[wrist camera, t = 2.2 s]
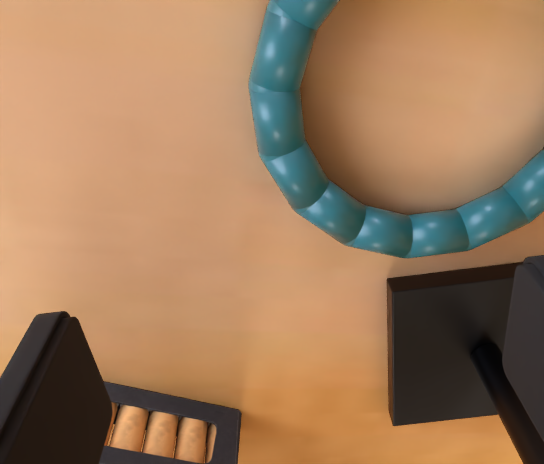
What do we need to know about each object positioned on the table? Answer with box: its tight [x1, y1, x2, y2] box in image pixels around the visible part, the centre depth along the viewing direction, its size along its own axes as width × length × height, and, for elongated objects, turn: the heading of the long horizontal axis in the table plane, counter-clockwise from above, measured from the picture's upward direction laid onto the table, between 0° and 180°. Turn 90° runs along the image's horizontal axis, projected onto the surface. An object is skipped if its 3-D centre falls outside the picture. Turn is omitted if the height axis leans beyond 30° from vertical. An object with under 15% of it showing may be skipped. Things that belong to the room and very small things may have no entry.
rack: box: [387, 262, 544, 464], centre depth 25 cm, size 10×10×9 cm
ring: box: [249, 0, 544, 258], centre depth 21 cm, size 15×15×2 cm
